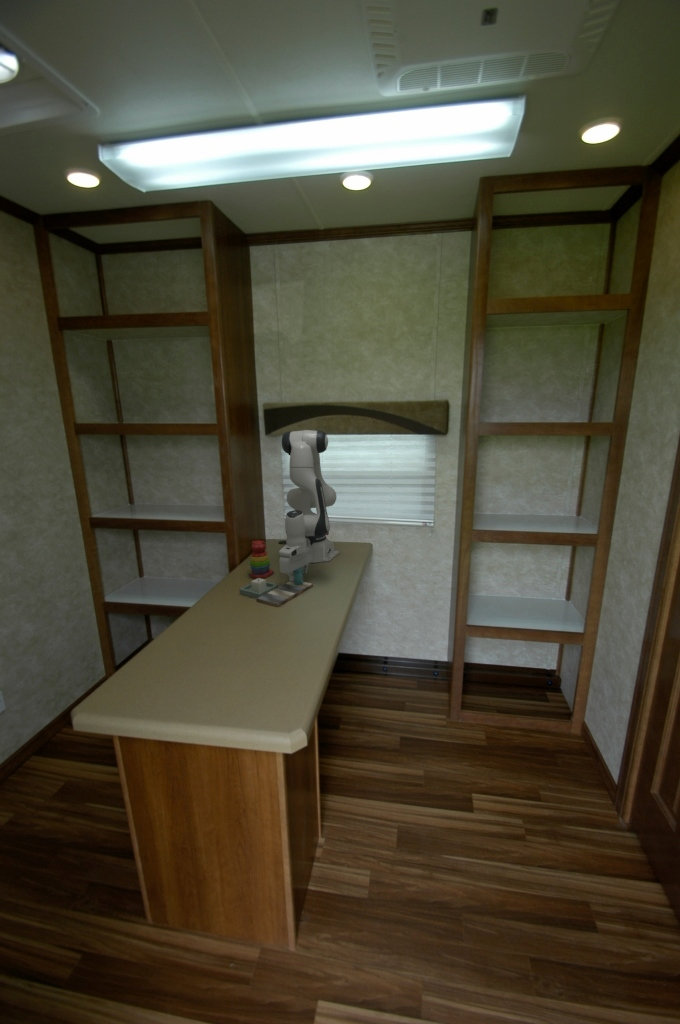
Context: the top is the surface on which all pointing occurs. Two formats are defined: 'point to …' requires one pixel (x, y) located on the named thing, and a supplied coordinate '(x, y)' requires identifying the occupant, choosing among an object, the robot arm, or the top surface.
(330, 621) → the top surface
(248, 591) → the tray
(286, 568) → the robot arm
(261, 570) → the stacking bear
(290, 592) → the board
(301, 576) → the pawn
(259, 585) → the die
